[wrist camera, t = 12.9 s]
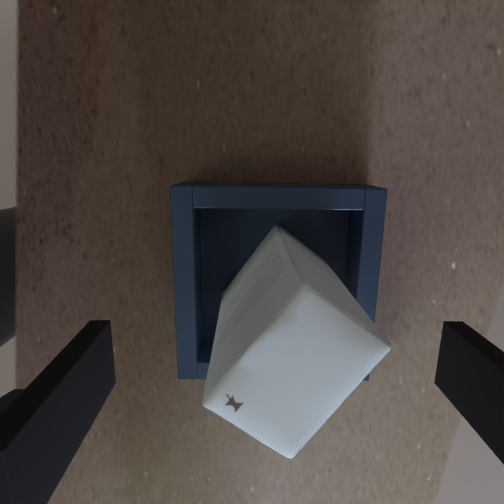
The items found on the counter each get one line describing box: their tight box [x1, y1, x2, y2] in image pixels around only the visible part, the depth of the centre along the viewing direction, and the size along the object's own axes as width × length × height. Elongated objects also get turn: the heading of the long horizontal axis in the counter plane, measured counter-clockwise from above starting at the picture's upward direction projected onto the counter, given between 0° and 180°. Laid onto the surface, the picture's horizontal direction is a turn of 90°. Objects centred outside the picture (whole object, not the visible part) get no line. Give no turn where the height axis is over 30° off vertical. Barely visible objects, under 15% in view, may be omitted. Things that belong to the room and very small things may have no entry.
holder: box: [170, 182, 387, 381], centre depth 23 cm, size 12×12×4 cm
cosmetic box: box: [202, 224, 392, 459], centre depth 19 cm, size 6×4×12 cm
